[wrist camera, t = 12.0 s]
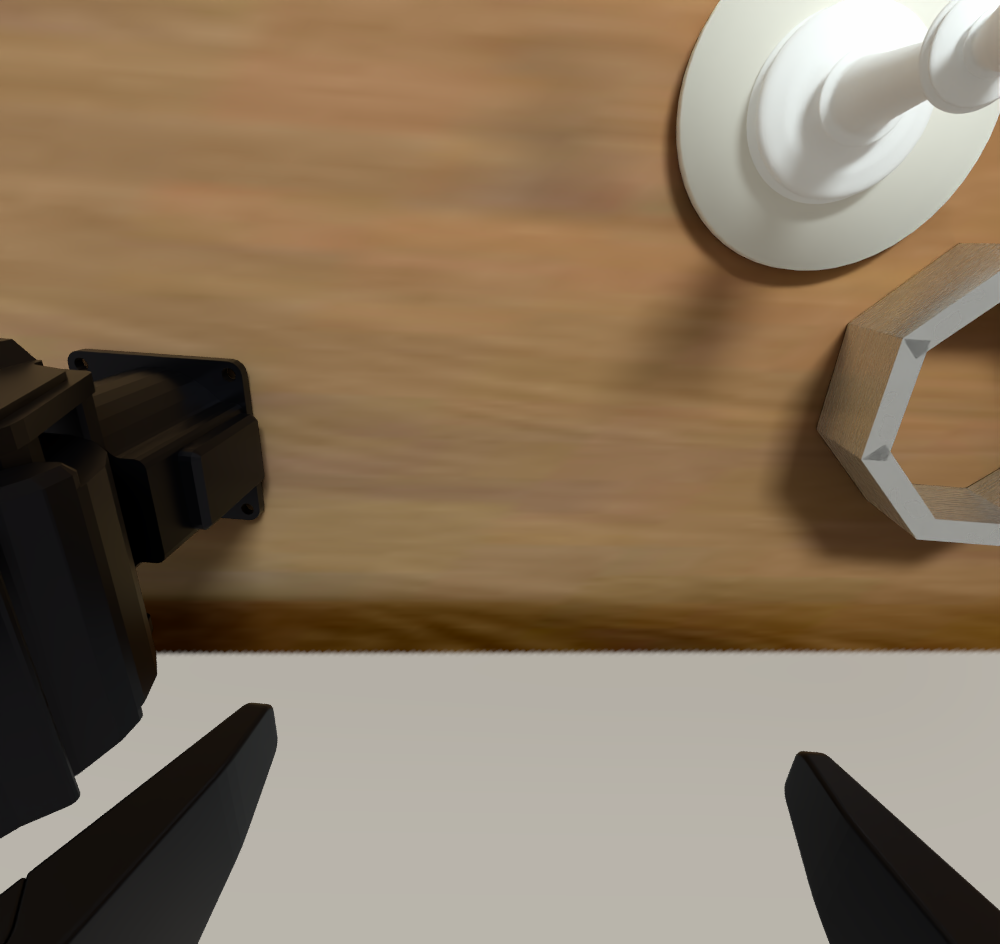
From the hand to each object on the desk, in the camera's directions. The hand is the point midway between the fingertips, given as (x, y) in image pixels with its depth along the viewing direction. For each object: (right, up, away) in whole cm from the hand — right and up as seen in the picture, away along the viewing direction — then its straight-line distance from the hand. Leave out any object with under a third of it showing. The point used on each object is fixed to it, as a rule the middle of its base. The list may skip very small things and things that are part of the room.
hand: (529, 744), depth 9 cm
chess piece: (+9, +15, +7) cm, 19 cm away
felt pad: (+9, +16, +7) cm, 19 cm away
